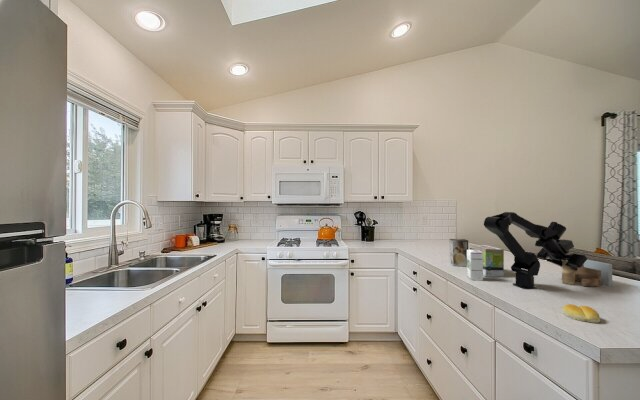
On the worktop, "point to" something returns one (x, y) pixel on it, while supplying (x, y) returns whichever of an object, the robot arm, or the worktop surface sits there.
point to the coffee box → (458, 252)
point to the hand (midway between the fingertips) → (571, 268)
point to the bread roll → (581, 313)
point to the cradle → (588, 276)
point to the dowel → (567, 274)
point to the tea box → (491, 260)
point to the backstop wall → (605, 270)
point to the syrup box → (475, 265)
